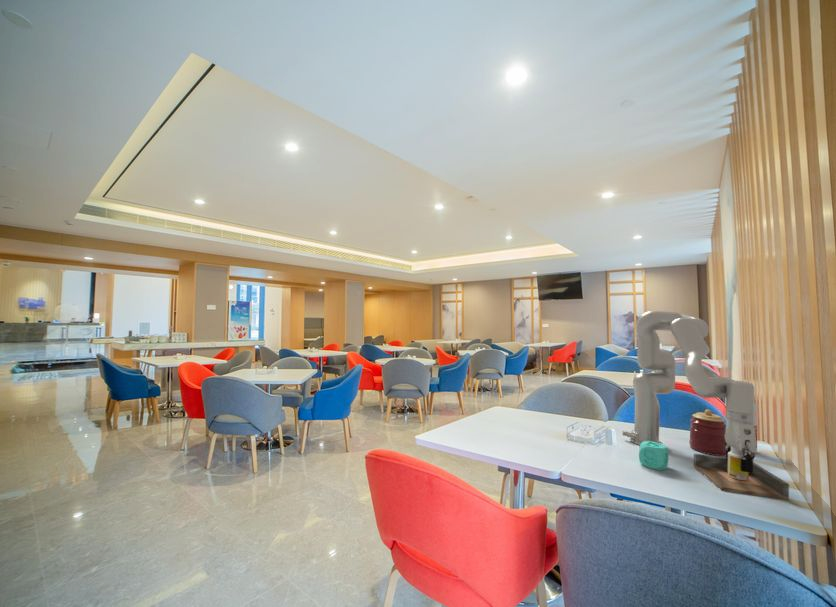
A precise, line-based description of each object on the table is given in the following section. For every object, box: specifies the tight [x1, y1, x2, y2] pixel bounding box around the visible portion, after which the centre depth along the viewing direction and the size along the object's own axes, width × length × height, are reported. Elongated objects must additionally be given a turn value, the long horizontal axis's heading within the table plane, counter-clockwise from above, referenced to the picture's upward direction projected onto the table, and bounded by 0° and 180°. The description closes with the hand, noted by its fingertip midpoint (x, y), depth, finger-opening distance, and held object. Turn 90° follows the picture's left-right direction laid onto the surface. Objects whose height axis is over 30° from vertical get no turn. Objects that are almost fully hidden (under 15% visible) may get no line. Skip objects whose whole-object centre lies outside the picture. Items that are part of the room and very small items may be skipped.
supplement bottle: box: [728, 447, 749, 480], centre depth 129 cm, size 6×6×10 cm
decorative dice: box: [638, 441, 669, 471], centre depth 139 cm, size 8×8×8 cm
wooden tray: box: [693, 453, 790, 501], centre depth 128 cm, size 18×20×5 cm
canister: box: [689, 409, 728, 456], centre depth 160 cm, size 13×13×18 cm
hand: (738, 466), depth 129 cm, fingers open, 8 cm apart
